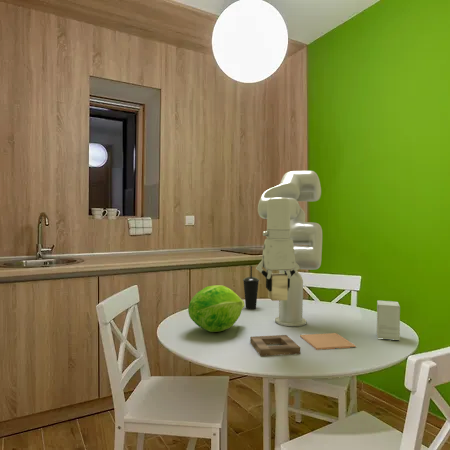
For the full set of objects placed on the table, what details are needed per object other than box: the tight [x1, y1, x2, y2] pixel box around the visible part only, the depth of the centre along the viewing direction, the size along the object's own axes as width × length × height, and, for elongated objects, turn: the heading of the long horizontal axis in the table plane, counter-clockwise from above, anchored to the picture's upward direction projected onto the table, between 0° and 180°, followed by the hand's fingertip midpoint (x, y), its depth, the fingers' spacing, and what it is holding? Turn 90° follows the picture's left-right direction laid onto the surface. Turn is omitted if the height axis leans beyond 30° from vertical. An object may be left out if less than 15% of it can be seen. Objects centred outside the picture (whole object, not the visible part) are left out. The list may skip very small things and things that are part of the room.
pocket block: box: [249, 334, 301, 357], centre depth 127 cm, size 13×13×2 cm
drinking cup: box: [242, 265, 260, 310], centre depth 181 cm, size 8×8×20 cm
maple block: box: [267, 272, 288, 302], centre depth 127 cm, size 5×5×8 cm
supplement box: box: [376, 300, 401, 341], centre depth 139 cm, size 7×7×13 cm
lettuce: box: [187, 284, 246, 333], centre depth 146 cm, size 19×25×17 cm
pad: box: [299, 332, 357, 351], centre depth 134 cm, size 14×14×1 cm
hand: (277, 289), depth 127 cm, fingers closed on maple block, 5 cm apart
